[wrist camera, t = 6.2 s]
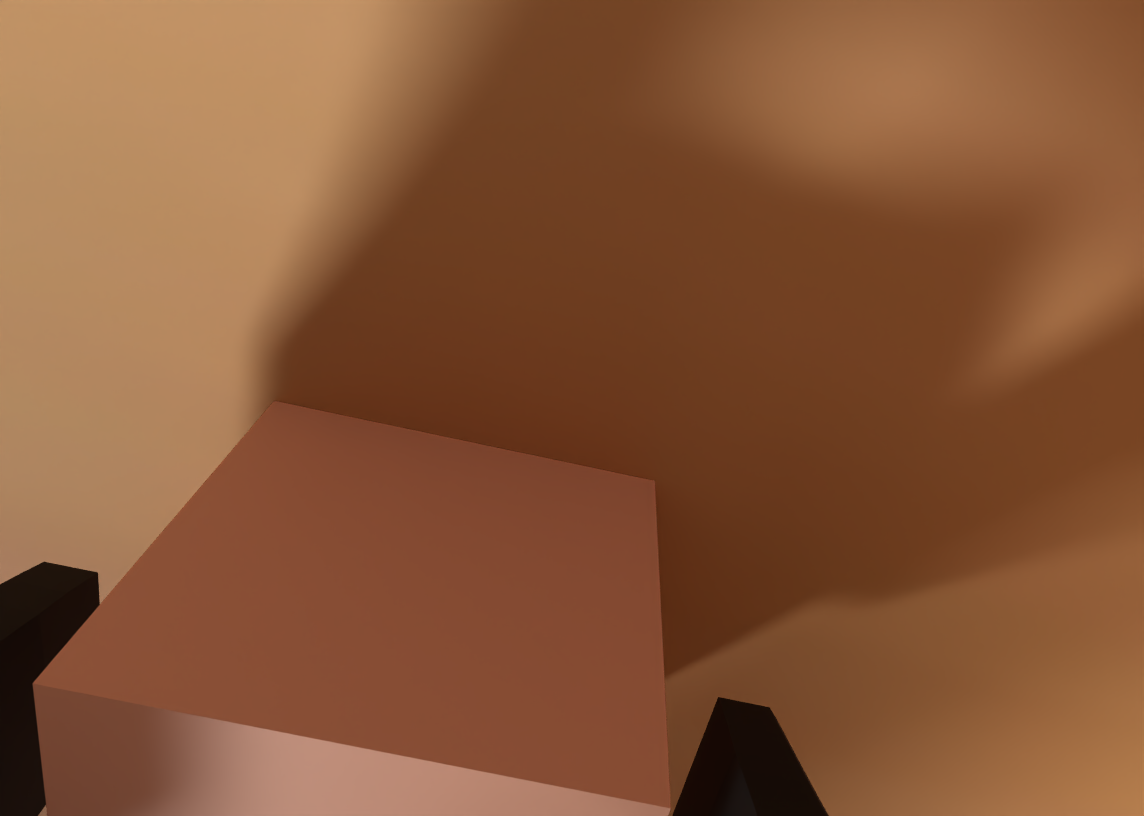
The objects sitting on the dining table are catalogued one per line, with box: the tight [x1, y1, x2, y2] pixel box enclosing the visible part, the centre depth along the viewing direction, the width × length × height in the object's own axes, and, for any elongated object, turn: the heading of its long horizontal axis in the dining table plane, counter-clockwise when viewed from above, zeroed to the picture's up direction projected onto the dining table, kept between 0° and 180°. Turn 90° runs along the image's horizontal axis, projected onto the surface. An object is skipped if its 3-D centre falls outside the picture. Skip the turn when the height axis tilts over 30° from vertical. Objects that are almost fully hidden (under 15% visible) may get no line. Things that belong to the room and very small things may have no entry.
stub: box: [33, 401, 671, 816], centre depth 10 cm, size 4×5×5 cm
